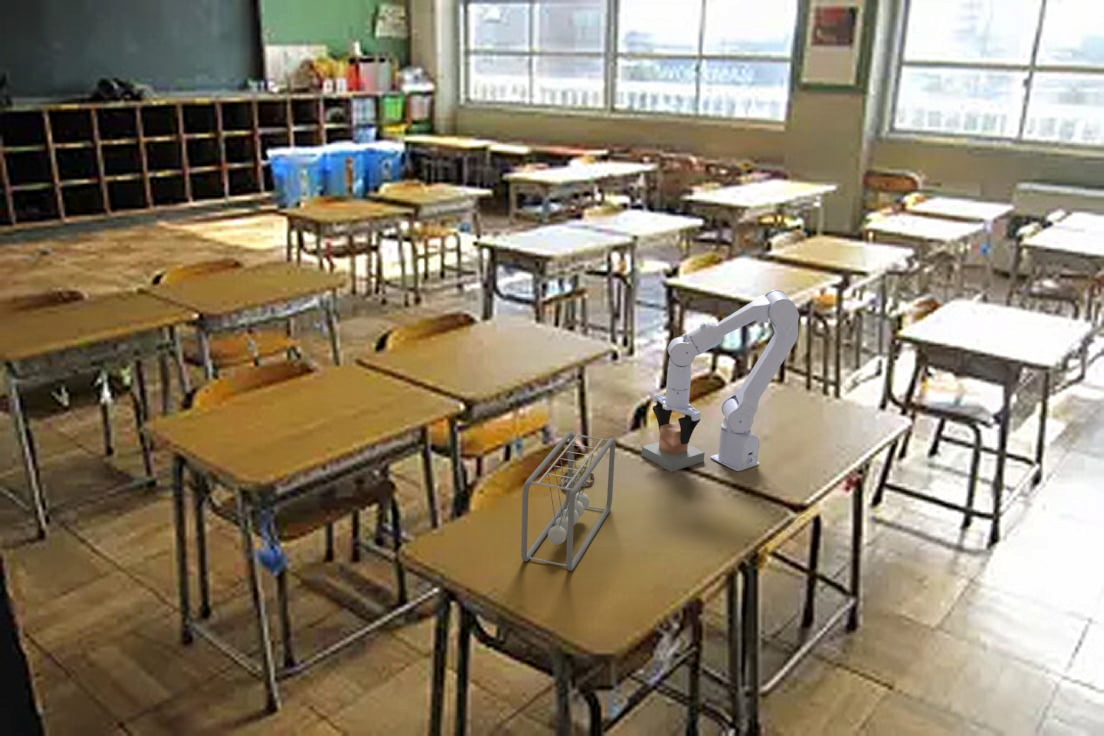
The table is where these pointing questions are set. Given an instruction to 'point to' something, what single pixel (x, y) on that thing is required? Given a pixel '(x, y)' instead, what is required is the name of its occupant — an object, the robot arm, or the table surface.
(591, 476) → the mineral rock
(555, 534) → the newton's cradle
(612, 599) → the table surface
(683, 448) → the terracotta cube
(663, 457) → the gray plinth
